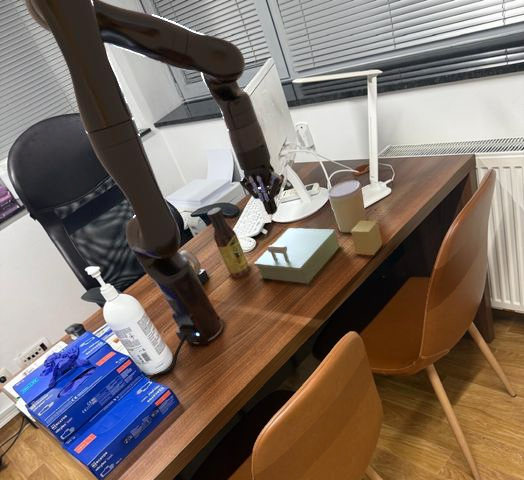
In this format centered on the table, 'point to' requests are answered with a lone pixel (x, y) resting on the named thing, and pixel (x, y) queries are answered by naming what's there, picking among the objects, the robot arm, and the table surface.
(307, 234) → the lid
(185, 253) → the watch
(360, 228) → the block
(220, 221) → the sauce bottle
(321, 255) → the box
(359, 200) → the coffee cup
